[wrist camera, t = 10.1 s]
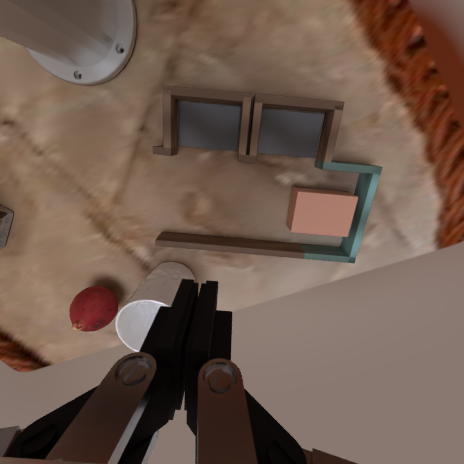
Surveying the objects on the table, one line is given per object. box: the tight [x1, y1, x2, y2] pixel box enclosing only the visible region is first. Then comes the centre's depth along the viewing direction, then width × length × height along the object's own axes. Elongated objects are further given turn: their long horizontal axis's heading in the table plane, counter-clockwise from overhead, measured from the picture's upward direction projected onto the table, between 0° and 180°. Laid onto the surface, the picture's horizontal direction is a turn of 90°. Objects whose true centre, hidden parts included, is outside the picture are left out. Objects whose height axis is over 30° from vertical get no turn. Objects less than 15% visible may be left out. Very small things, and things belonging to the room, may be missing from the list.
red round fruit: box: [70, 286, 118, 332], centre depth 34 cm, size 6×6×8 cm
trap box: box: [153, 85, 382, 263], centre depth 30 cm, size 18×26×3 cm
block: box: [287, 187, 358, 237], centre depth 31 cm, size 5×7×3 cm
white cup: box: [115, 261, 195, 352], centre depth 32 cm, size 8×8×10 cm
